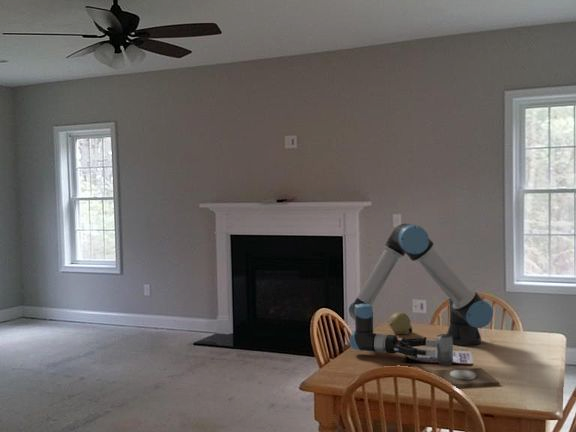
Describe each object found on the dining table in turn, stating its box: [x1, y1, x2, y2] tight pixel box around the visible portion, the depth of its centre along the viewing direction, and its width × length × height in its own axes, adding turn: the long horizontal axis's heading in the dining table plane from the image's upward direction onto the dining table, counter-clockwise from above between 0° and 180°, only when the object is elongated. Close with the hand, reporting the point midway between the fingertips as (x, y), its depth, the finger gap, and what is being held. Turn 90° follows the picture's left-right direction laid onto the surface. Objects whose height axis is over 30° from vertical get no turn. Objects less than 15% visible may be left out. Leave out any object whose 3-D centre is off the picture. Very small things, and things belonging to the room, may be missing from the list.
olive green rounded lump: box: [387, 311, 413, 335], centre depth 268 cm, size 10×12×11 cm
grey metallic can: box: [436, 333, 454, 366], centre depth 219 cm, size 6×6×11 cm
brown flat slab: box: [428, 367, 500, 389], centre depth 201 cm, size 20×16×2 cm
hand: (438, 348), depth 220 cm, fingers open, 13 cm apart
